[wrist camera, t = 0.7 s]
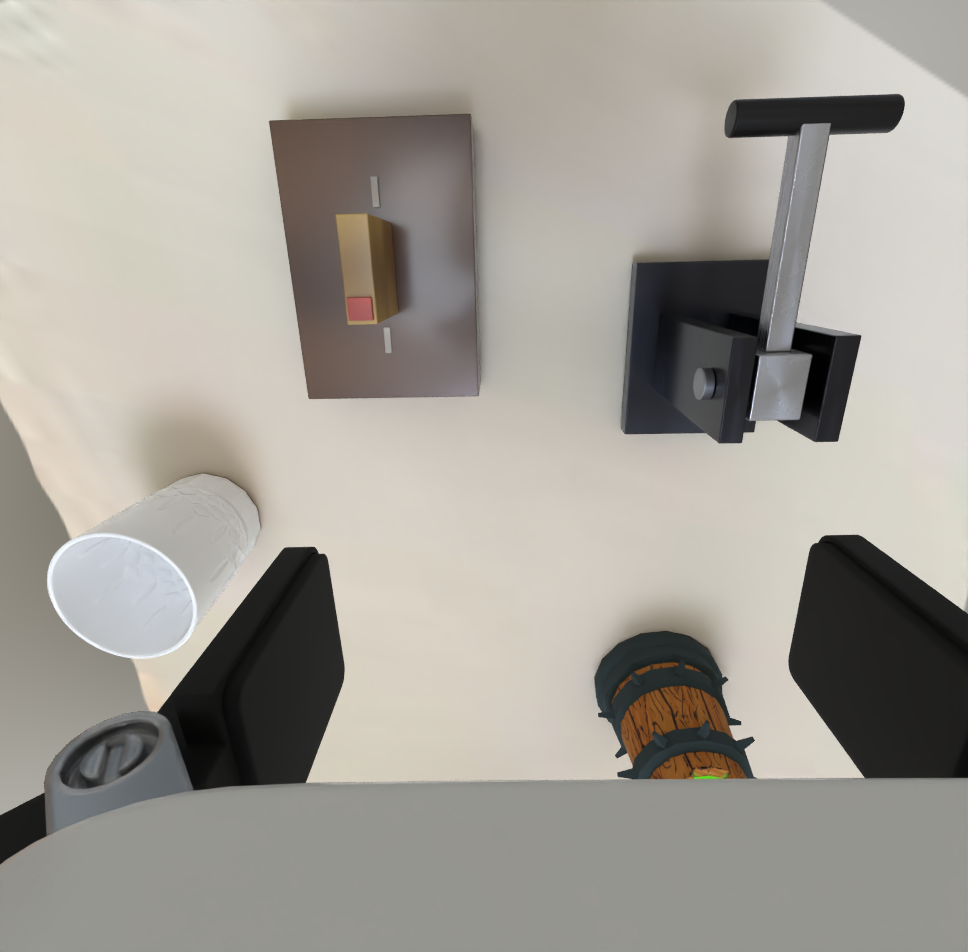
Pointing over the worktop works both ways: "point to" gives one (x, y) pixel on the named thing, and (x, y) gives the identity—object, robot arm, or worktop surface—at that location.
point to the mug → (669, 710)
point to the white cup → (154, 566)
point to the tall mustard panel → (367, 268)
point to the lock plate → (416, 246)
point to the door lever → (796, 226)
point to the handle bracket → (718, 353)
